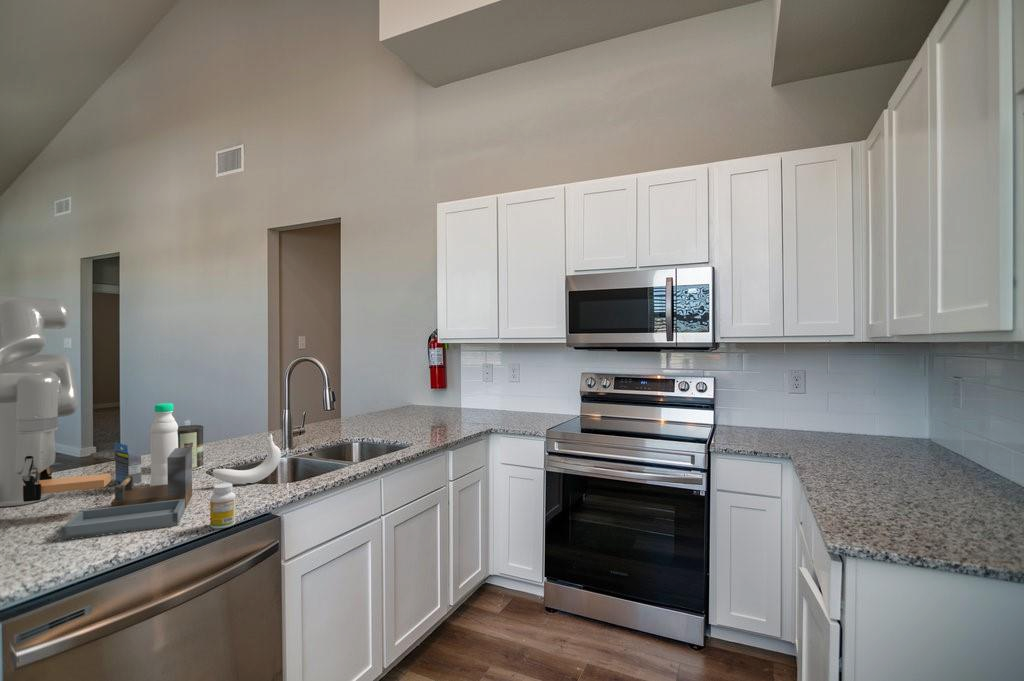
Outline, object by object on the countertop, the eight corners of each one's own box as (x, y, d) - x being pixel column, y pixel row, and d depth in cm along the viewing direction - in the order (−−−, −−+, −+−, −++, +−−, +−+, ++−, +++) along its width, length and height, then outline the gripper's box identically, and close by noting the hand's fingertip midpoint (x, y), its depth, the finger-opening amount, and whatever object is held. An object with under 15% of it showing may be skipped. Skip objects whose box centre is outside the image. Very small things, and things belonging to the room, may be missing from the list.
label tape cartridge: (142, 482, 160) (141, 443, 160) (127, 485, 156) (127, 445, 156) (128, 478, 164) (128, 439, 164) (114, 481, 161) (113, 442, 161)
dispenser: (111, 517, 129) (110, 462, 129) (123, 503, 140) (123, 452, 140) (185, 508, 136) (185, 456, 136) (192, 495, 147) (191, 446, 147)
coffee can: (191, 463, 183) (190, 424, 183) (210, 466, 179) (210, 426, 179) (161, 470, 174) (161, 428, 173) (181, 474, 169) (180, 431, 169)
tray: (61, 540, 115) (61, 527, 115) (79, 522, 126) (79, 510, 126) (177, 525, 124) (177, 513, 124) (185, 509, 135) (185, 498, 135)
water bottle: (164, 489, 153) (163, 405, 152) (144, 488, 154) (144, 404, 154) (184, 482, 160) (183, 402, 159) (164, 481, 161) (164, 401, 161)
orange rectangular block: (22, 496, 125) (22, 487, 125) (32, 488, 130) (32, 480, 130) (104, 487, 132) (103, 479, 132) (110, 480, 137) (110, 473, 137)
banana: (211, 487, 155) (211, 438, 155) (278, 476, 167) (278, 431, 167) (214, 491, 152) (214, 441, 151) (282, 479, 163) (282, 433, 163)
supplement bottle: (217, 521, 127) (216, 482, 127) (239, 520, 128) (239, 481, 128) (205, 529, 122) (205, 488, 122) (229, 528, 123) (229, 488, 122)
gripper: (32, 419, 134) (33, 487, 135) (1, 433, 119) (1, 510, 119) (69, 417, 137) (69, 484, 138) (43, 430, 122) (43, 506, 122)
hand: (37, 495), depth 129 cm, fingers closed on orange rectangular block, 5 cm apart
